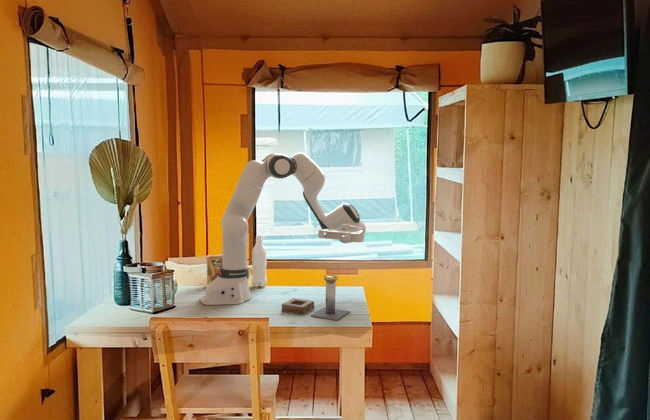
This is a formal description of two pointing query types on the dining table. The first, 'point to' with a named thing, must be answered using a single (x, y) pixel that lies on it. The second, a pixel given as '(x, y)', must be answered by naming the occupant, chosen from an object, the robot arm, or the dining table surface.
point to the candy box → (213, 267)
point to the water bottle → (259, 263)
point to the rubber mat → (336, 316)
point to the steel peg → (330, 293)
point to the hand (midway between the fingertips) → (333, 237)
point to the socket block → (297, 306)
